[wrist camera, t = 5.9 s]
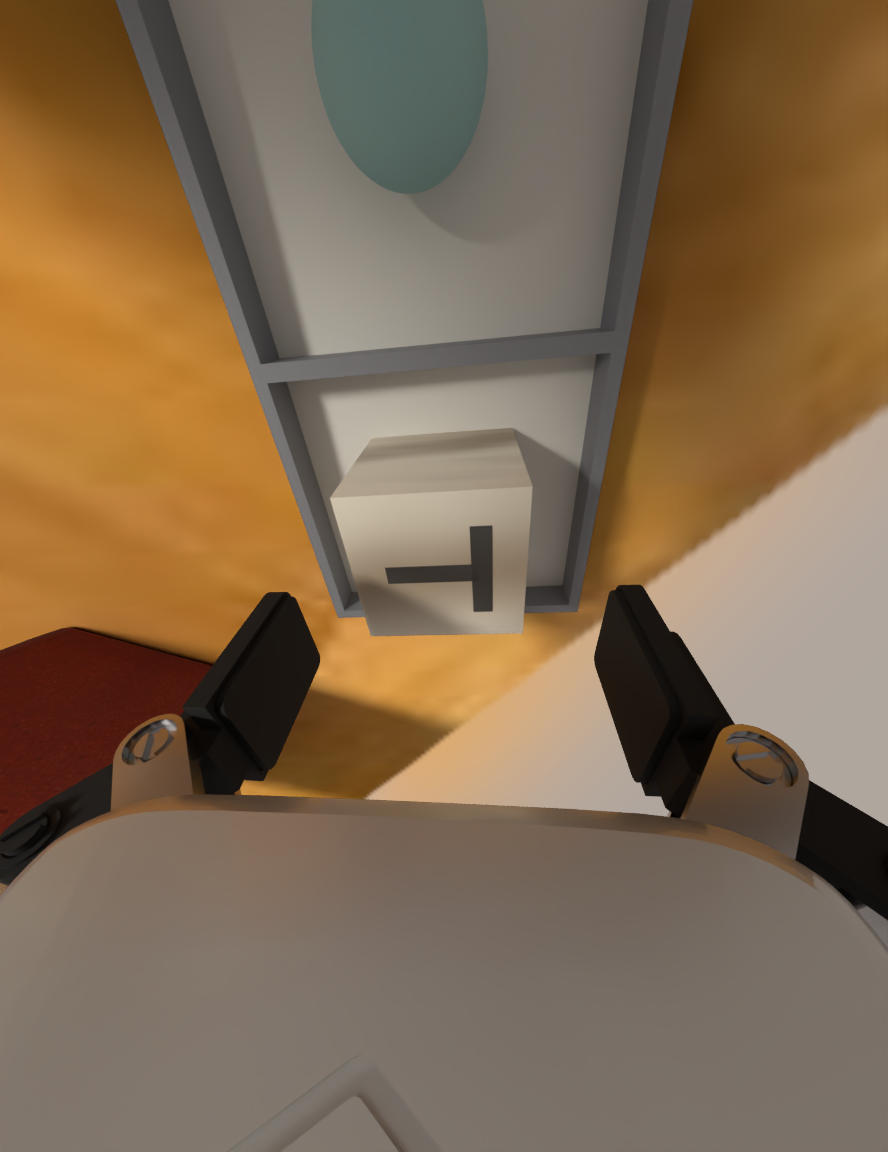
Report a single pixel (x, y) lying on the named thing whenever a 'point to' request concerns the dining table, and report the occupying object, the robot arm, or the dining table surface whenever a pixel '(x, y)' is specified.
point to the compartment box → (428, 247)
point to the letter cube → (438, 532)
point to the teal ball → (402, 84)
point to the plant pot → (77, 709)
